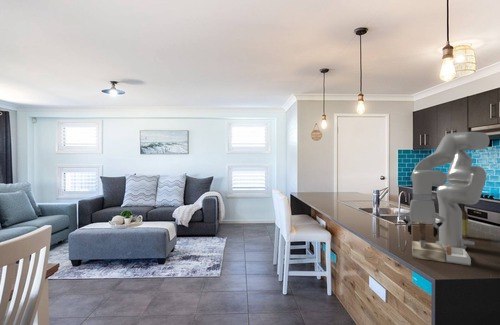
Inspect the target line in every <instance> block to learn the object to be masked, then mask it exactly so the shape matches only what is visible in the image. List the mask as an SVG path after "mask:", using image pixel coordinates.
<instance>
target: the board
mask: <svg viewBox="0 0 500 325" xmlns="http://www.w3.org/2000/svg"><path fill="white" fill-rule="evenodd" d="M411 251H412V252H411V255H412V258H413V259H420V260H427V261H435V262H442V263H447V262H446V255H445V251H444V248H443V246H442V244H435V242H427V241H425V249H424V248H421V246H420V241H416V240H411Z"/></svg>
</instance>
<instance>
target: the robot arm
mask: <svg viewBox="0 0 500 325" xmlns="http://www.w3.org/2000/svg"><path fill="white" fill-rule="evenodd" d="M489 145H490V138H489V135H488V134H487V133H485V132H483V131H482V132H481V131H480V132H479V131H462V132H461V131H460V132H451V133H447V134H446V135H444V136H443V137H442V139H441V141H440V142H439V144H438V146H437V148H436V149H435V151H434V152H433V153H431V154H429V155H428V156H426V157H425V158H423V159H421V160H420V161H419V162H417V163H416V164H415V167H414V169H413V170H412V173H411V175H410V179H411V182H412V199H411V200H410V202H409V211H408V212H406V213H403V214H401V215H400V217H401V219H402V221H403V222H404V223H405V224H406V225H407V232H408V234H409V235H410V236H411V235H412V224H413V223H423V224H432V225H433V228H432V230H433V231H432V232H433V233H432V234H433V237H434V238H436V237H437V236H438V240H435V242H434V243H435V244H442V246H443V247H446V245H450V246H451V248H460V249H465V250H466V249H467V246H472V247H473V246H474V247H475V241H471V240H468V239H467V240H466V239H465V238H462V211H461V209H460V207H459V206H458V204H457V203H461V204H465V205H475V204H477V203H479V202H480V199H481V196H482V194H483V191H484V187H485V185H486V183H487V182H486V180H487V172H486V170H485V169H484V168H483V167H482V166H479V165H477V166H476V165H473V159H472V158H471V156H470V155H469V154H468V153H467V152H466V151H475V150H476V151H477V150H480V151H481V150H485V149H487V148H488V147H489ZM449 164H450V165H449ZM445 165H449V168H448V169H447V173H445V172H444V171H442V170H439V169H436V168H438V167H439V168H440V167H443V166H445ZM433 187H436V190H435V191H436V195H433ZM436 197H437V198H436ZM434 199H435V200H436V199H437V202H438V214H437V213H436V206H435V201H434ZM406 217H409V220H408V219H406ZM436 218H437V219H438V223H436V220H437V219H436Z"/></svg>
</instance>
